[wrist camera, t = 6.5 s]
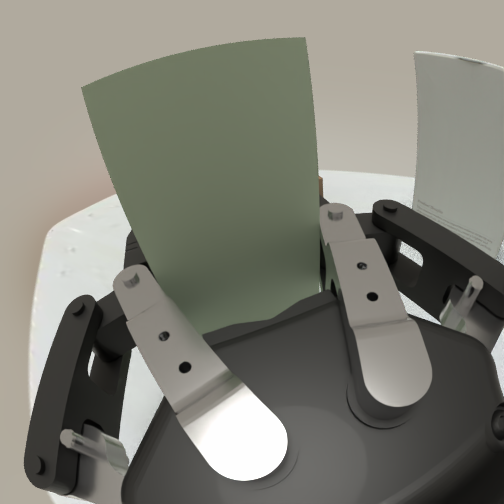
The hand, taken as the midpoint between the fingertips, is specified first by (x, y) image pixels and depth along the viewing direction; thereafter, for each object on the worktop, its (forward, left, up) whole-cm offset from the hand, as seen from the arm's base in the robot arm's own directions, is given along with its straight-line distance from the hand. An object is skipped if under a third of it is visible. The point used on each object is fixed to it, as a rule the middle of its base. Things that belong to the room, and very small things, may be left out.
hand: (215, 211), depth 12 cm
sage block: (0, +2, -8) cm, 8 cm away
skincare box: (-18, +1, -8) cm, 20 cm away
